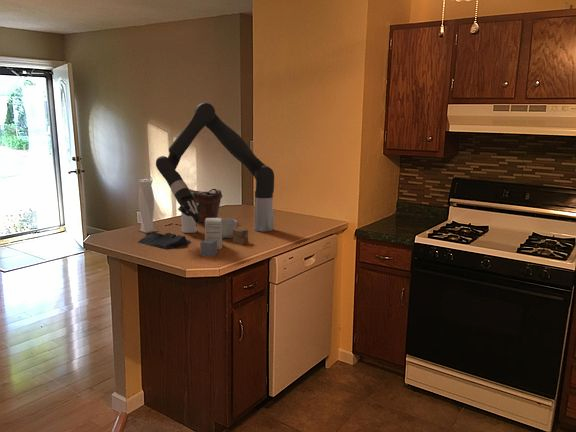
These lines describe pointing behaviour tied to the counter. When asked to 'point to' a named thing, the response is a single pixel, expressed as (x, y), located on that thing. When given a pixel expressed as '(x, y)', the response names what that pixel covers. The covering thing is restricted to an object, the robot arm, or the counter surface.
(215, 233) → the supplement box
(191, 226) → the milk bottle
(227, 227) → the teacup
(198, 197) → the wooden bucket
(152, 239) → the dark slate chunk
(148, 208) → the skyscraper
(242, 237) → the walnut block
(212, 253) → the slate-grey block
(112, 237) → the counter surface
